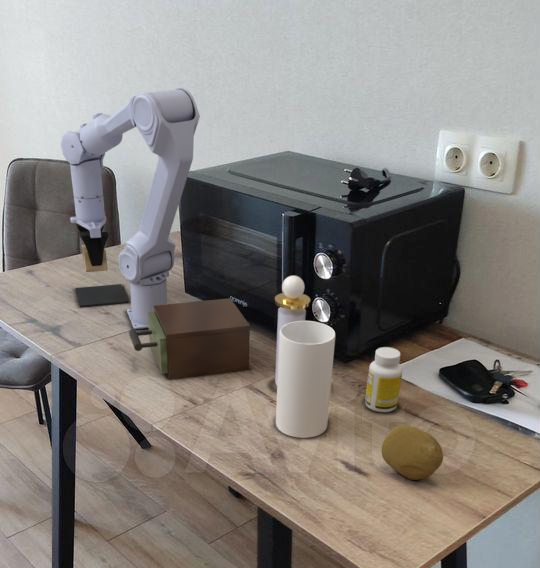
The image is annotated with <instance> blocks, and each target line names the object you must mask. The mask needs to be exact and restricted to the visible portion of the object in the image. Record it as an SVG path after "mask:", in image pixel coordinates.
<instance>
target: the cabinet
mask: <svg viewBox="0 0 540 568" xmlns="http://www.w3.org/2000/svg"><path fill="white" fill-rule="evenodd" d="M153 309H154V313H155V315H156V317H157V319H158V321H159V323H160V325H161V327H162V330H163V331H164V333H165V335H166V338H167V357H168V373H166V375H167V377H168V379H169V380H173V379H182V378H190V377H197V376H199V377H200V376H207V375H215V374H221V373H228V372H229V373H230V372H237V371H244V370H245V371H246V370H249V369H250V342H251V341H250V339H251V338H250V337H251V325H250V324H249V322H248V321H247V320H246V318H245V317H244V315H243V314H242V312H241V311H240V310H239V308H238V307H237V305H236V304H235V303H234V301H233V300H232V298H231V297H228V298H219V299H207V300H198V301H189V302H188V301H187V302H178V303H177V302H175V303H168V304H166V305H155V306H153Z"/></svg>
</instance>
